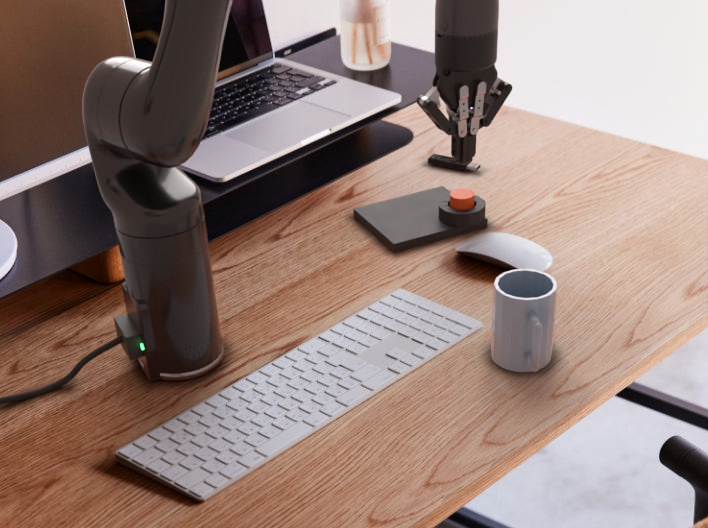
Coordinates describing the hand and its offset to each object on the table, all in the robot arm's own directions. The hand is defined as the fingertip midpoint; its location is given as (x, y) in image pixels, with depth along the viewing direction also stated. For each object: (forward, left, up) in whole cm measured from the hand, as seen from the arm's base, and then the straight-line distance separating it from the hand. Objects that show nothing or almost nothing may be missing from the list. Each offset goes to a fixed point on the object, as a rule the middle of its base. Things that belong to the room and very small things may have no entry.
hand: (463, 160), depth 137 cm
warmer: (-4, +4, -9) cm, 11 cm away
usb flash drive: (+9, +17, -9) cm, 21 cm away
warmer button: (0, 0, -6) cm, 6 cm away
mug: (-11, -32, -9) cm, 35 cm away
